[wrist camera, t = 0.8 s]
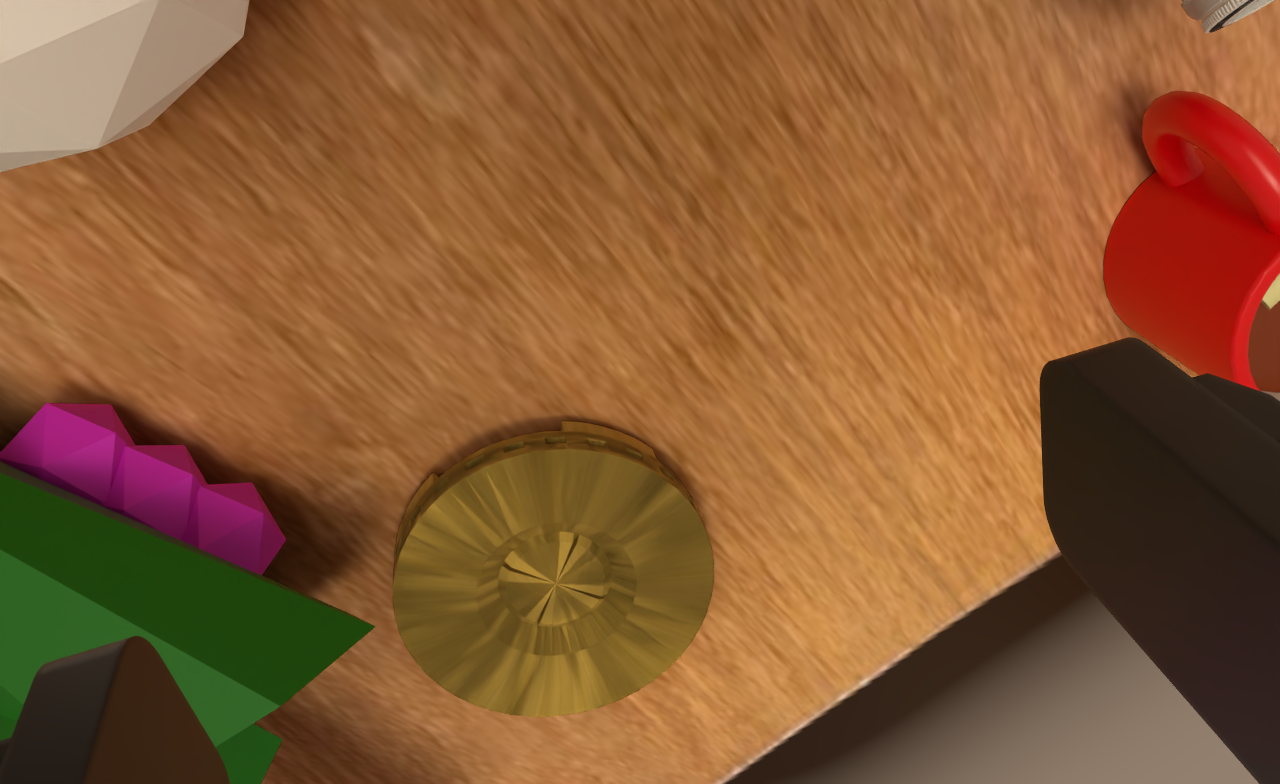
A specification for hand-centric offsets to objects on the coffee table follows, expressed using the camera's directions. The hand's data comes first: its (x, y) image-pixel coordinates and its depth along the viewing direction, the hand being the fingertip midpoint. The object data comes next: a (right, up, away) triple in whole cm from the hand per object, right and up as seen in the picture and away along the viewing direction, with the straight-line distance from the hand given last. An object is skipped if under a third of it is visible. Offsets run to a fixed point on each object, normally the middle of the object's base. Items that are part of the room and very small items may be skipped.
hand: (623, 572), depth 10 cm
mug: (+20, +9, +32) cm, 39 cm away
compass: (-3, -5, +34) cm, 35 cm away
